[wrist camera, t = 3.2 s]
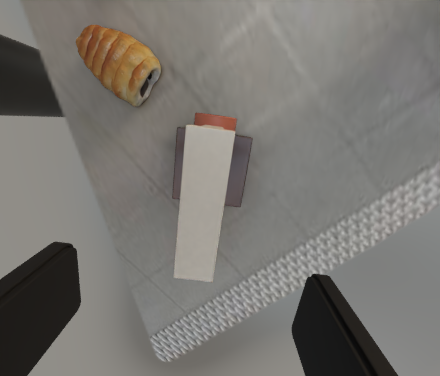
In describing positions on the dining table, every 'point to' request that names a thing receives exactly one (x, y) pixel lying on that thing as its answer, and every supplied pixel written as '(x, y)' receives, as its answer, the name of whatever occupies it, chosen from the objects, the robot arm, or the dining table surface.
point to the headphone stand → (235, 174)
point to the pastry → (119, 62)
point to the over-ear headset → (203, 195)
